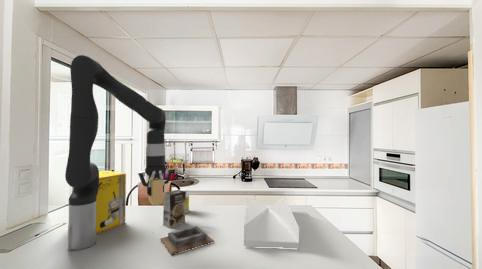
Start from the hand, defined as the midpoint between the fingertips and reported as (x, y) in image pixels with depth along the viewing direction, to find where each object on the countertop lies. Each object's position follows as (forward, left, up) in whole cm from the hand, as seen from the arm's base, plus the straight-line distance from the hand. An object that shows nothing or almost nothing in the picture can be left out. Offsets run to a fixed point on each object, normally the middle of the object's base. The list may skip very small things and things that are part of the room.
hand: (155, 194), depth 96 cm
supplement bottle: (+23, +27, -20) cm, 41 cm away
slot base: (+11, -8, -20) cm, 24 cm away
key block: (0, 0, -3) cm, 3 cm away
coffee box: (+13, +13, -20) cm, 27 cm away
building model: (+51, -15, -20) cm, 57 cm away
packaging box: (-18, +31, -20) cm, 41 cm away
